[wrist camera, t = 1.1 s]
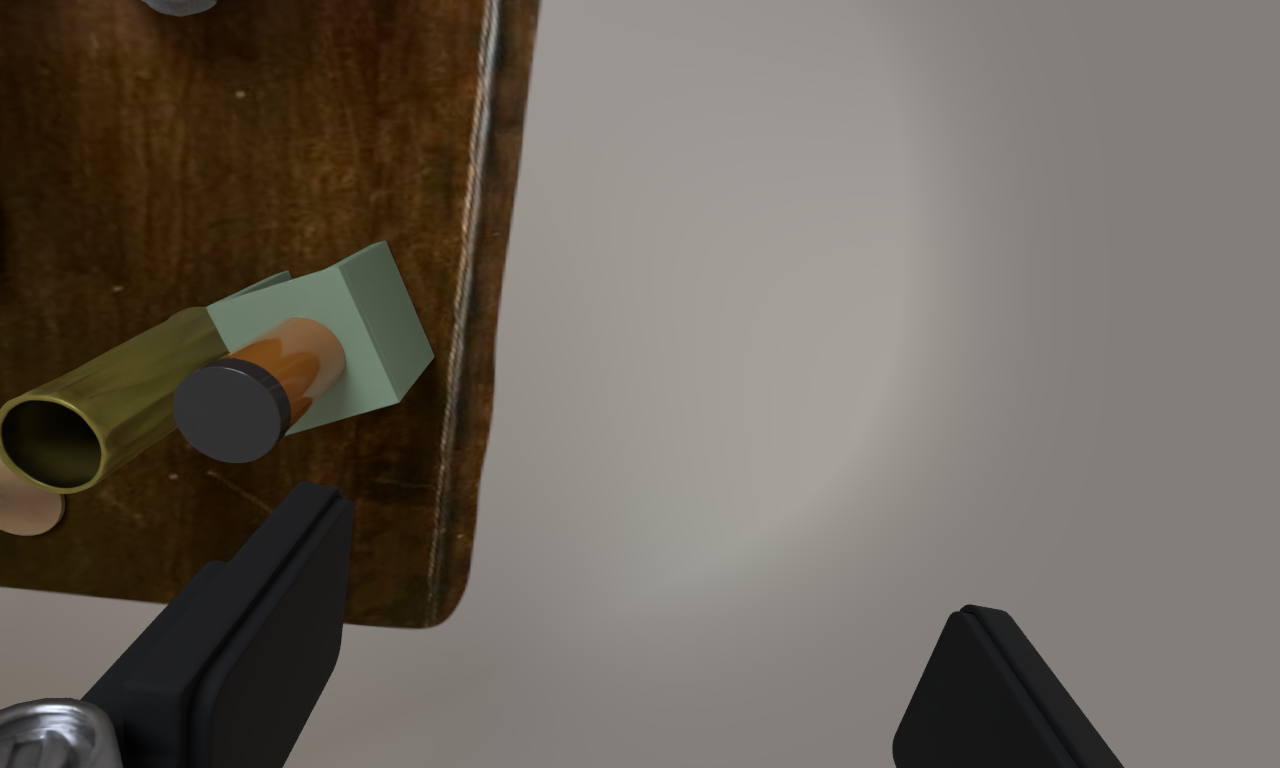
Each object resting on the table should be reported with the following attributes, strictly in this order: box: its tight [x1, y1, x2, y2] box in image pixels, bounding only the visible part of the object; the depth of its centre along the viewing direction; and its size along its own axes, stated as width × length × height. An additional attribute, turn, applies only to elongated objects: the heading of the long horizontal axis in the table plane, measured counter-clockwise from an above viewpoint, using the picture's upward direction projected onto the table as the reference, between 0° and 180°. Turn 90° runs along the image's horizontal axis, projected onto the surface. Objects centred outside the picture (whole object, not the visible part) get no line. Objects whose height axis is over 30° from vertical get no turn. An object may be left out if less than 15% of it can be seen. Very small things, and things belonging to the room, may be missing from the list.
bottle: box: [173, 317, 346, 463], centre depth 36 cm, size 5×5×8 cm
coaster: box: [0, 458, 65, 536], centre depth 51 cm, size 6×6×1 cm
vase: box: [0, 307, 229, 494], centre depth 41 cm, size 6×6×14 cm
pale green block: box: [206, 240, 434, 436], centre depth 43 cm, size 8×8×8 cm
